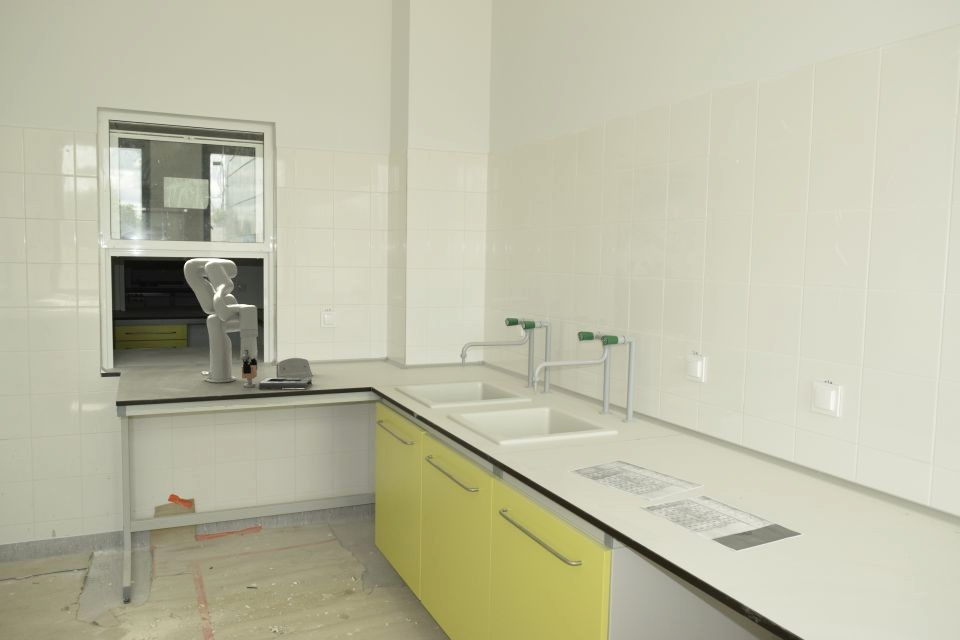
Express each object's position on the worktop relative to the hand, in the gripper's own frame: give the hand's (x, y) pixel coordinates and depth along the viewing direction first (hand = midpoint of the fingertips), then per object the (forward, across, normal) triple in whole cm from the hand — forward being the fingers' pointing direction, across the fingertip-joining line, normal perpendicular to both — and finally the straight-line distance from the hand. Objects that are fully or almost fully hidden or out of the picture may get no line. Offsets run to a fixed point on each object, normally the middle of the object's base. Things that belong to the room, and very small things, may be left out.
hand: (250, 371), depth 319 cm
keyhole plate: (+7, -1, +15) cm, 17 cm away
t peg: (+7, -1, -1) cm, 7 cm away
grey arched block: (+7, -27, +13) cm, 30 cm away
